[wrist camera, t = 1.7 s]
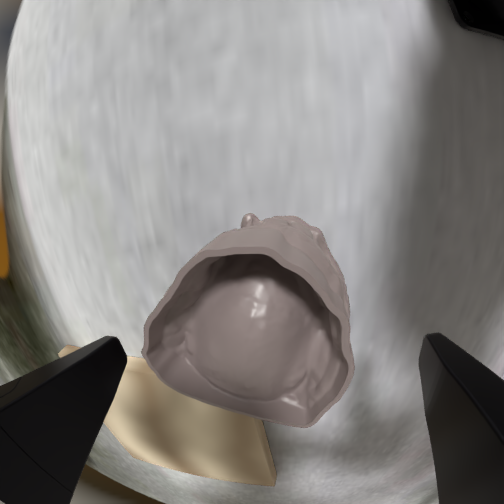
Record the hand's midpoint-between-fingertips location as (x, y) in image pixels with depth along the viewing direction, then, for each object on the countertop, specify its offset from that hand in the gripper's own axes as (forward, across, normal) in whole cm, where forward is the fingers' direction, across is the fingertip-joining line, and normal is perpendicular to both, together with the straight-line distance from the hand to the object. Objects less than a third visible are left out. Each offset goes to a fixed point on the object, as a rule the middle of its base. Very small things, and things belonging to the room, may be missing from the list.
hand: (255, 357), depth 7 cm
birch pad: (+5, +9, +12) cm, 16 cm away
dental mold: (+5, 0, 0) cm, 5 cm away
